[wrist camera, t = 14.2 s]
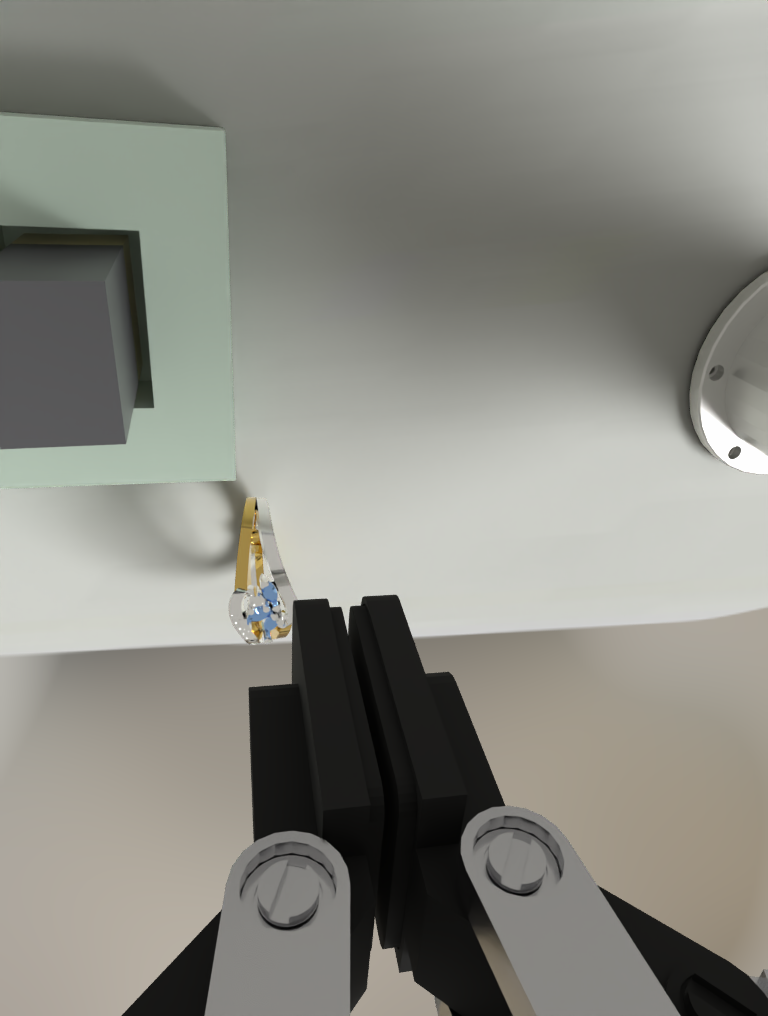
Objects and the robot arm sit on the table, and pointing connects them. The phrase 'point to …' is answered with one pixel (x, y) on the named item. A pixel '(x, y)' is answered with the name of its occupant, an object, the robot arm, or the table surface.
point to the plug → (67, 341)
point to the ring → (260, 579)
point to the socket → (137, 284)
